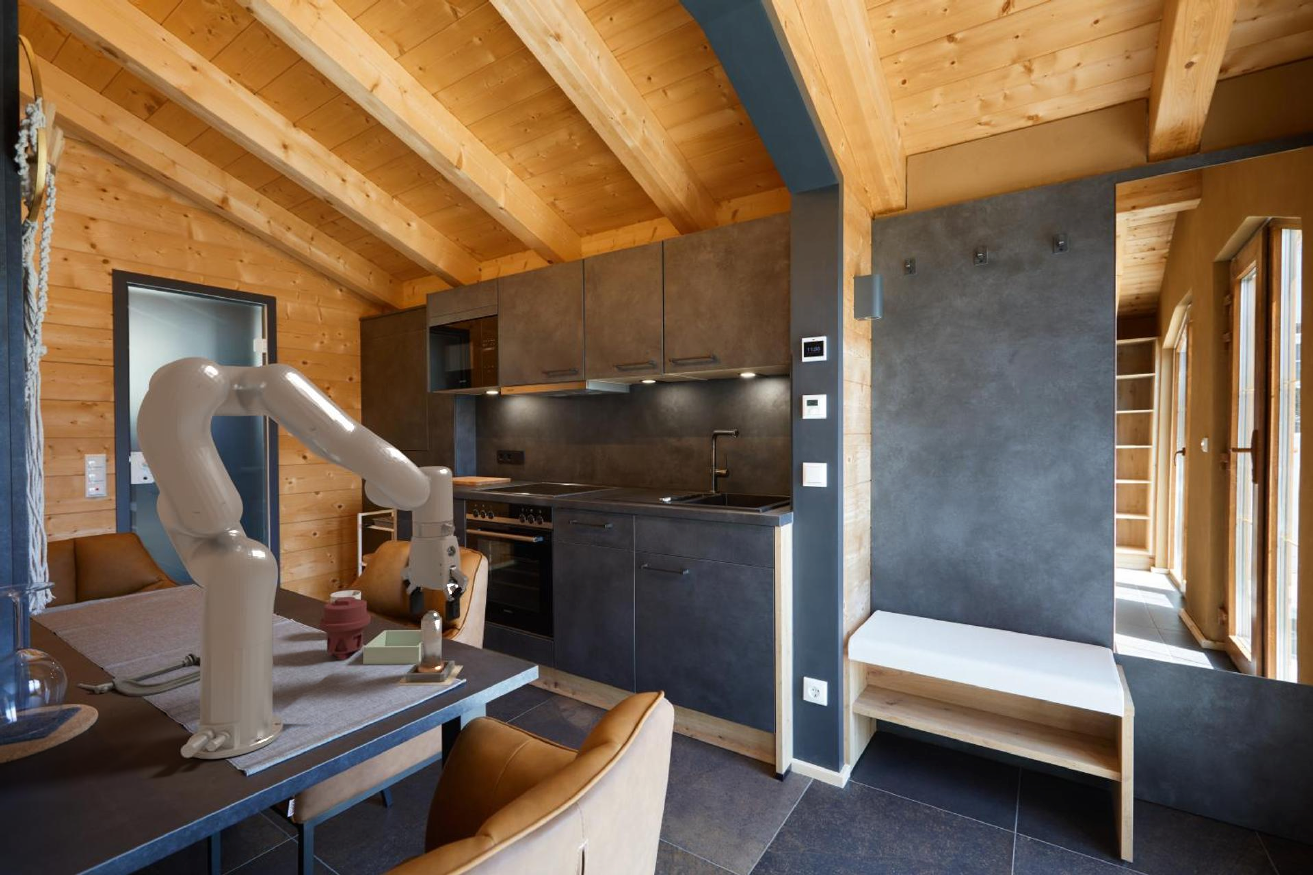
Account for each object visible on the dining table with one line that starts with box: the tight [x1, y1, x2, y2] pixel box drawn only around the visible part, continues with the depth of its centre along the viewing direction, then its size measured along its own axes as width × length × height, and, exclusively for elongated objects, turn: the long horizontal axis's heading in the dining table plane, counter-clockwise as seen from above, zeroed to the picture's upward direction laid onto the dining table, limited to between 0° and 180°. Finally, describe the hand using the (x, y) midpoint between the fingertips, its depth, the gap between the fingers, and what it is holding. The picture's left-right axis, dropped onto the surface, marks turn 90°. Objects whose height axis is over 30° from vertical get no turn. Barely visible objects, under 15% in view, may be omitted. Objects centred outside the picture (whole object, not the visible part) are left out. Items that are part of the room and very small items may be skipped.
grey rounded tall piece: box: [418, 610, 444, 673], centre depth 122 cm, size 5×5×13 cm
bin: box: [362, 629, 421, 665], centre depth 134 cm, size 11×11×5 cm
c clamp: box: [76, 652, 200, 698], centre depth 123 cm, size 20×17×3 cm
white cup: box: [330, 589, 362, 602], centre depth 150 cm, size 7×7×10 cm
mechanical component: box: [318, 597, 371, 661], centre depth 136 cm, size 12×10×10 cm
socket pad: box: [395, 660, 464, 687], centre depth 122 cm, size 10×10×3 cm
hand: (434, 616), depth 123 cm, fingers open, 9 cm apart
